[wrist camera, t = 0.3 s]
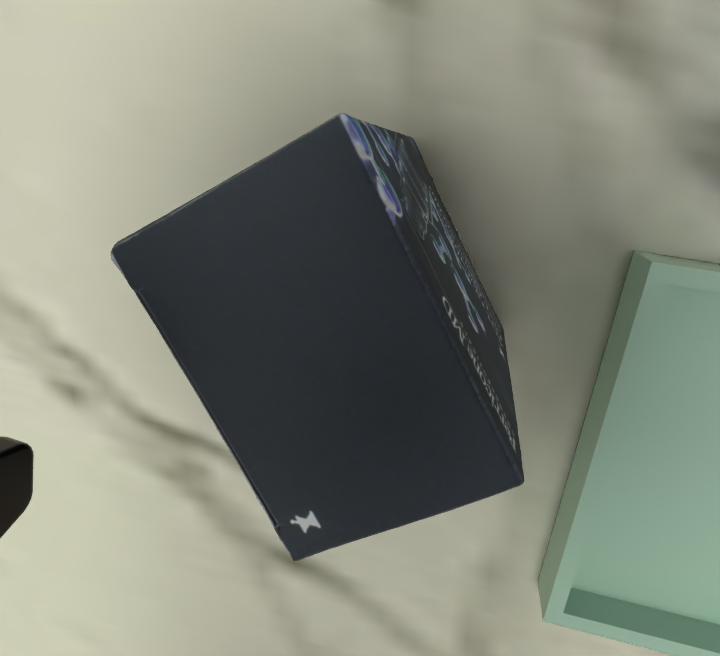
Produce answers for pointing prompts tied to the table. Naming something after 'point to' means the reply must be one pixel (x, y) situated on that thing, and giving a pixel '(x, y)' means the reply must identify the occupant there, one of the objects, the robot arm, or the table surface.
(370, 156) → the box
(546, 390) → the table surface
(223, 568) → the table surface
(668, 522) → the tray
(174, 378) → the table surface
